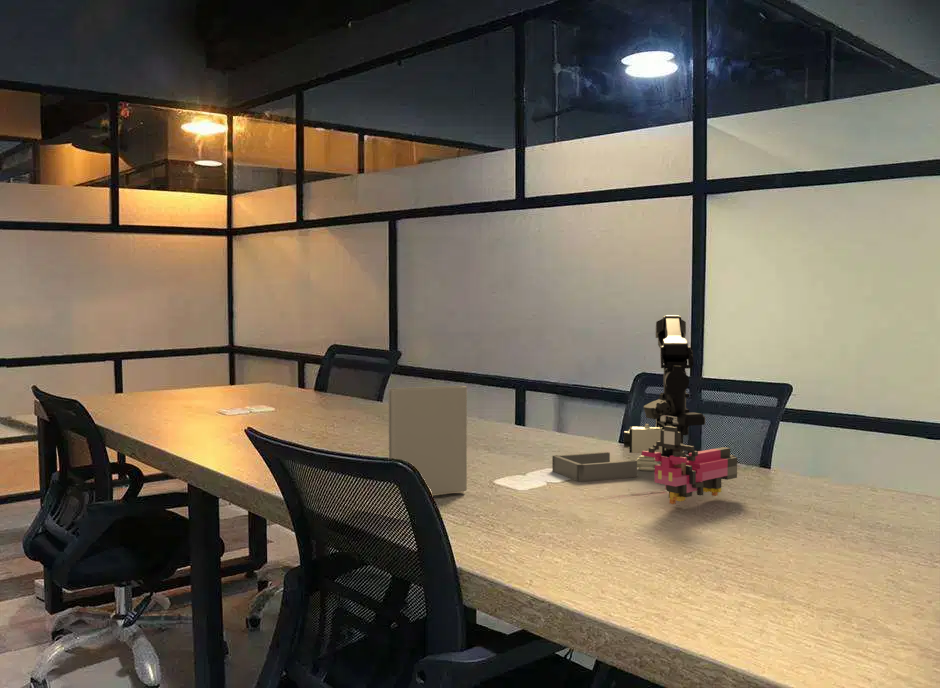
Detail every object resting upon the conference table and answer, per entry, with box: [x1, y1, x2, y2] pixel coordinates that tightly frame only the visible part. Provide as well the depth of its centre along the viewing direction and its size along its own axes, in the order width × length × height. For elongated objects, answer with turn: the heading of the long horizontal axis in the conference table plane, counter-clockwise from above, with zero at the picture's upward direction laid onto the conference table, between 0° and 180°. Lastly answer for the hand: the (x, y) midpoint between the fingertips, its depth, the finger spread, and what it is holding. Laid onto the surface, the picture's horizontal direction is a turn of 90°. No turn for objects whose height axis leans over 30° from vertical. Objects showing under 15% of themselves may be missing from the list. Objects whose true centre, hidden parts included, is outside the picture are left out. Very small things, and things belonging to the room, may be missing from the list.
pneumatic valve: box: [623, 423, 668, 472], centre depth 219 cm, size 6×12×12 cm, turn 79°
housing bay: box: [551, 451, 638, 483], centre depth 213 cm, size 16×14×4 cm
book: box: [388, 385, 468, 496], centre depth 191 cm, size 18×4×24 cm, turn 116°
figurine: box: [641, 426, 738, 505], centre depth 186 cm, size 11×25×17 cm, turn 129°
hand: (674, 448), depth 222 cm, fingers closed
